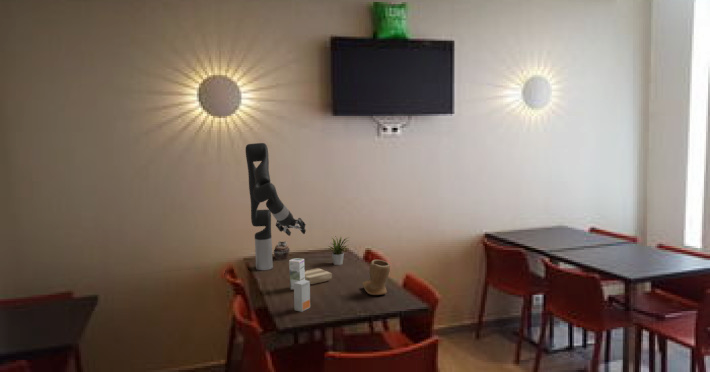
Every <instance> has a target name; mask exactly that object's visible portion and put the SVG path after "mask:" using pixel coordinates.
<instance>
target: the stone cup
mask: <svg viewBox="0 0 710 372" xmlns="http://www.w3.org/2000/svg"><path fill="white" fill-rule="evenodd" d="M390 271H391V265H390V263H389V262H388V261H386V260H382V259H373V260H372V261H370V263H369V271H368V272H369V279H370V280H365V281H363V282H362V287H363V289H364V290H365V292H367V293H366V294H369V295H371V296H380V295H385V294H387V292H388V291H387V288H386V282H387V280H388V278H389V275H390Z"/></svg>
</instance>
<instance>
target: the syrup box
mask: <svg viewBox="0 0 710 372" xmlns="http://www.w3.org/2000/svg"><path fill="white" fill-rule="evenodd" d="M288 266H289V268H288V269H289V290H292V291H294V283H296V282H298V281H301V280H305V271H306V270H305V258H300V257H299V258H297V257H296V258H295V257H294V258H291V259H289V260H288Z"/></svg>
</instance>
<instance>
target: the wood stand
mask: <svg viewBox="0 0 710 372" xmlns="http://www.w3.org/2000/svg"><path fill="white" fill-rule="evenodd" d="M332 279H333V273H332V272H330V271H327V270H324V269H322V268H319V267H316V268H311V269H306V270H305V280H307V281H310V286H312V285H315V284H316V285H317V284H321V283H324V282H328V281H329V280H332Z"/></svg>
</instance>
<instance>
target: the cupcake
mask: <svg viewBox="0 0 710 372" xmlns="http://www.w3.org/2000/svg"><path fill="white" fill-rule="evenodd" d="M273 254H274V258H275V260H278V261H282V260H283V261H285V260H287V259H289V255H290V248H289V245H288V242H287V241H278V243H277V244H276V245H275V247H274V249H273Z"/></svg>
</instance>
